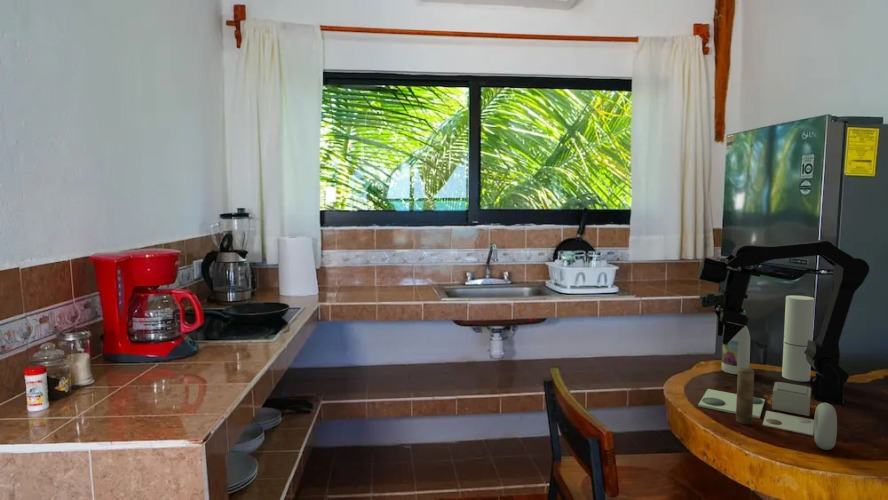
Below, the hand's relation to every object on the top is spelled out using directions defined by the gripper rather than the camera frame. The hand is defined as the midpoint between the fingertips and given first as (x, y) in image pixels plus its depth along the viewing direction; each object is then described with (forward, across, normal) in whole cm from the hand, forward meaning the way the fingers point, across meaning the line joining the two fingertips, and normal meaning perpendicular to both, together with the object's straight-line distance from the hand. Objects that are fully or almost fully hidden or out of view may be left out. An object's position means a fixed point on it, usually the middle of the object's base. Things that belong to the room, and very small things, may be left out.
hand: (721, 339), depth 150 cm
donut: (+11, +34, +18) cm, 40 cm away
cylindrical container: (+10, -18, +26) cm, 33 cm away
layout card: (+11, +22, +14) cm, 28 cm away
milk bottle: (+13, -18, +10) cm, 25 cm away
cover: (+11, +10, +18) cm, 23 cm away
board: (+14, +12, +4) cm, 19 cm away
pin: (+13, +24, +5) cm, 28 cm away
